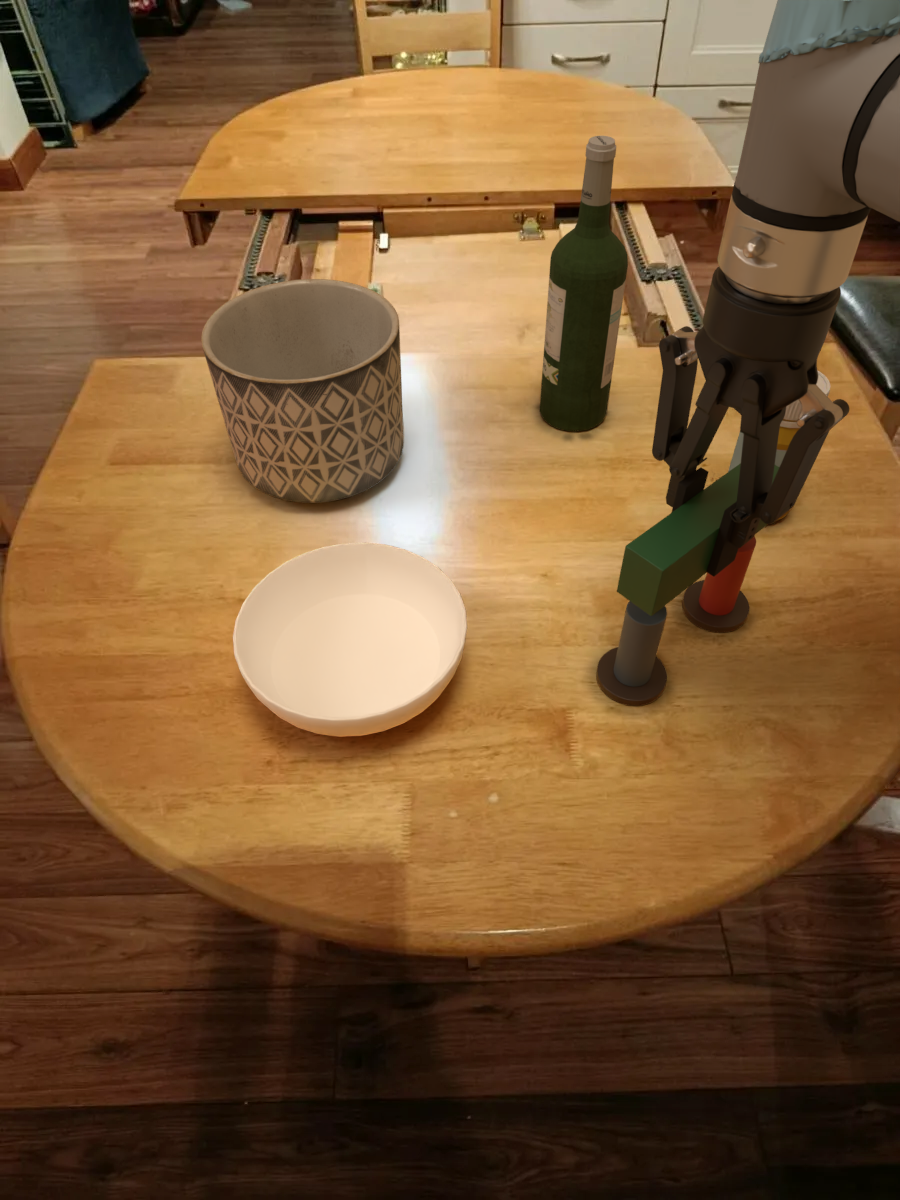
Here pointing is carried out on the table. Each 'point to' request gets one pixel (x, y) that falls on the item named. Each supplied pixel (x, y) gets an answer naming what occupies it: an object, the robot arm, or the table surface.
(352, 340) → the planter
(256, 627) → the bowl
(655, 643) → the grey cylinder on disc
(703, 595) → the red peg on stand
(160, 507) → the table surface
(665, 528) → the green bar
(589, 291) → the wine bottle
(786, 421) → the bottle
